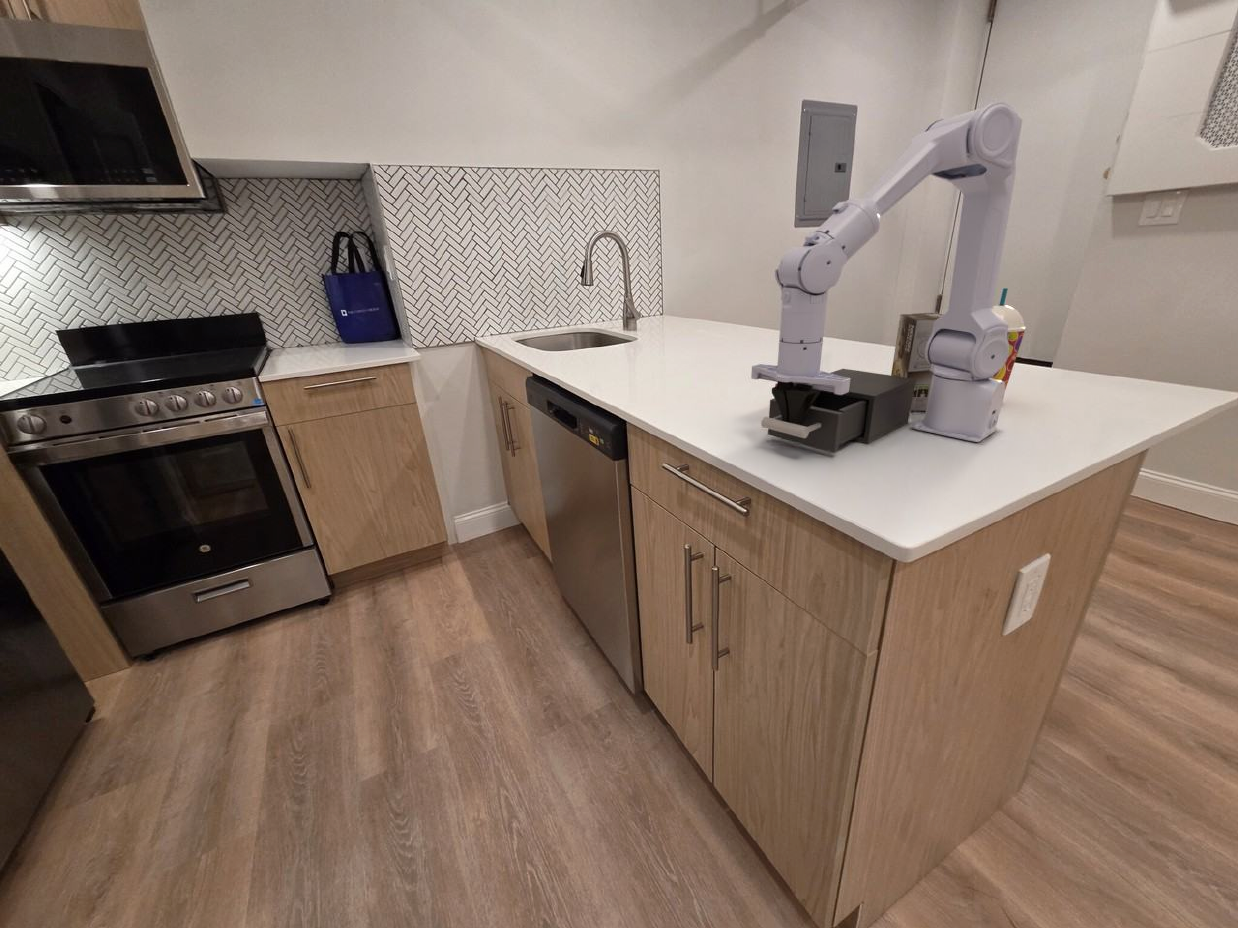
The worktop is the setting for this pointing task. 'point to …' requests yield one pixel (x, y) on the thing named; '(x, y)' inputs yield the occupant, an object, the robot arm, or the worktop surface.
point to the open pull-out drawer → (822, 422)
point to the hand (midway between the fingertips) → (792, 433)
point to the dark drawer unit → (880, 401)
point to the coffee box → (914, 354)
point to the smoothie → (1010, 336)
